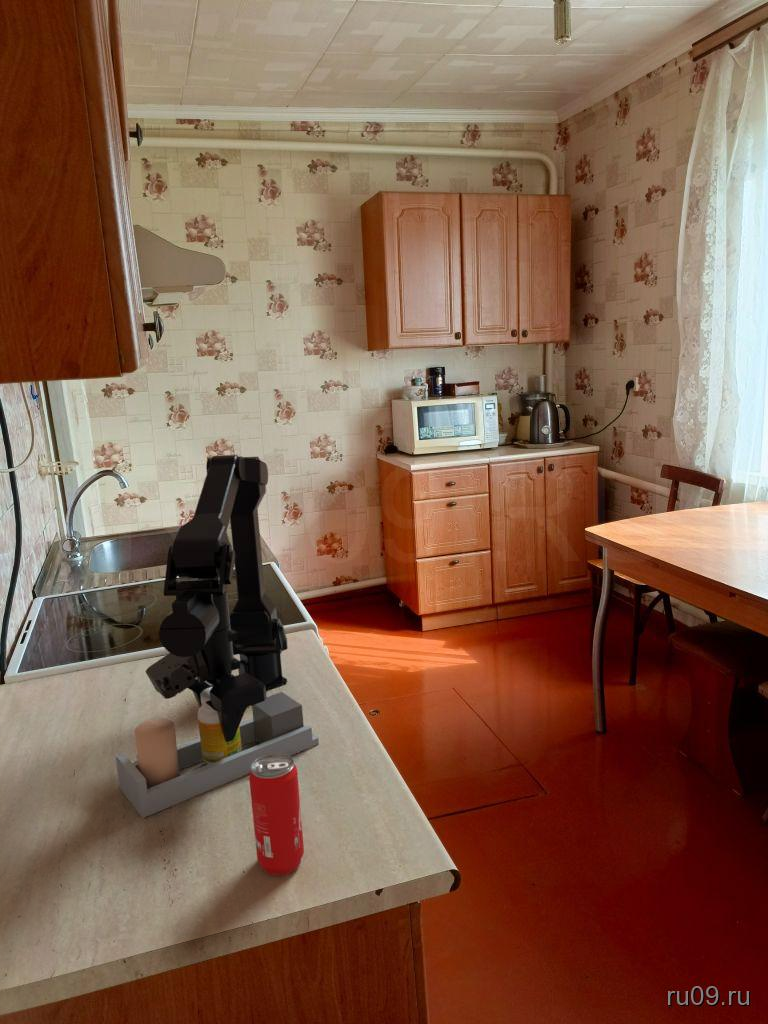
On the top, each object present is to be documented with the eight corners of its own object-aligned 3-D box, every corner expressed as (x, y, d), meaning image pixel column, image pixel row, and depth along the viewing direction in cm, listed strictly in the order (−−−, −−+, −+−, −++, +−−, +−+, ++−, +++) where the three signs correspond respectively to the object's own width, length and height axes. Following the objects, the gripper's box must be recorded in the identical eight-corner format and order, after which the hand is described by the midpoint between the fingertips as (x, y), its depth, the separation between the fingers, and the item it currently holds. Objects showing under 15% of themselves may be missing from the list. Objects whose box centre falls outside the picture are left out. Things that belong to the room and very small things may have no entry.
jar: (170, 776, 101) (164, 715, 99) (187, 791, 97) (181, 727, 96) (135, 790, 98) (128, 727, 96) (150, 806, 94) (143, 741, 92)
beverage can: (259, 849, 85) (250, 754, 82) (305, 844, 85) (297, 750, 83) (256, 880, 80) (245, 780, 77) (304, 875, 80) (295, 776, 78)
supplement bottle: (233, 768, 100) (225, 702, 97) (195, 766, 101) (188, 700, 99) (248, 747, 105) (241, 683, 103) (212, 745, 106) (205, 682, 104)
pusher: (284, 728, 112) (281, 691, 111) (304, 743, 107) (301, 705, 106) (255, 740, 109) (251, 702, 108) (274, 755, 104) (271, 716, 103)
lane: (288, 723, 114) (286, 693, 113) (318, 744, 107) (316, 712, 106) (120, 788, 99) (115, 754, 97) (142, 818, 92) (137, 782, 91)
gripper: (124, 624, 101) (138, 728, 104) (178, 665, 87) (192, 784, 90) (200, 604, 108) (211, 702, 111) (262, 639, 93) (273, 751, 96)
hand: (220, 732), depth 102 cm, fingers closed on supplement bottle, 5 cm apart
